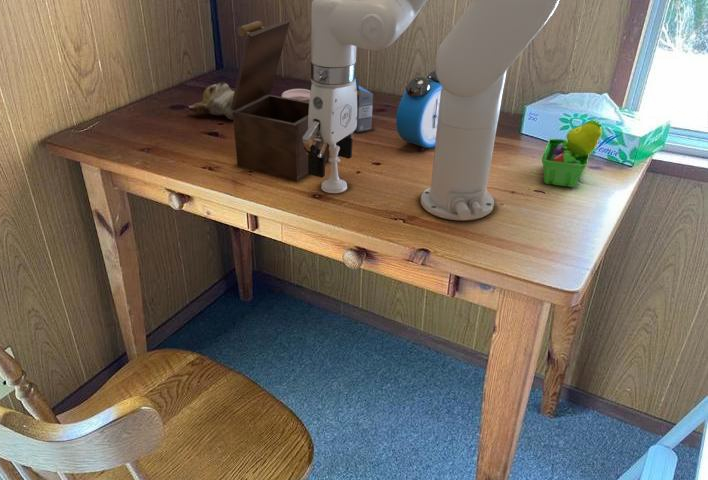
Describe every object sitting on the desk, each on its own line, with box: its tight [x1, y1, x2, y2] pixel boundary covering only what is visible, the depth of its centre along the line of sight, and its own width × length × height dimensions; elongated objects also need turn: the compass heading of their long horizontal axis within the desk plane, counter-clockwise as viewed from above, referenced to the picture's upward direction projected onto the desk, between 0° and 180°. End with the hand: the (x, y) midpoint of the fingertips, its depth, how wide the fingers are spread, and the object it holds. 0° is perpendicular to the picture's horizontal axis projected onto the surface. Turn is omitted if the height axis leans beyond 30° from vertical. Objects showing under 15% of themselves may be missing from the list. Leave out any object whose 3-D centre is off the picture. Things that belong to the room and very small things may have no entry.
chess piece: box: [320, 143, 348, 194], centre depth 113 cm, size 5×5×10 cm
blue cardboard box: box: [354, 75, 374, 133], centre depth 139 cm, size 9×4×12 cm, turn 22°
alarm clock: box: [395, 69, 442, 152], centre depth 127 cm, size 13×6×15 cm, turn 133°
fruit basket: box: [541, 119, 603, 188], centre depth 113 cm, size 11×9×11 cm
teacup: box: [281, 88, 311, 102], centre depth 144 cm, size 12×12×6 cm
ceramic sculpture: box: [185, 80, 244, 121], centre depth 148 cm, size 11×9×15 cm
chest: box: [232, 94, 331, 182], centre depth 123 cm, size 15×12×11 cm
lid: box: [231, 19, 291, 111], centre depth 118 cm, size 16×12×5 cm
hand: (330, 165), depth 113 cm, fingers open, 9 cm apart
